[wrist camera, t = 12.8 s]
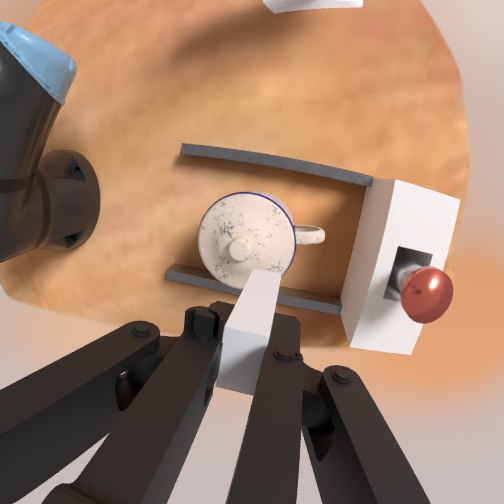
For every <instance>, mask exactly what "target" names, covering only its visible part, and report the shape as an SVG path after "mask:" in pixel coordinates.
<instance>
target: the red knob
mask: <svg viewBox="0 0 504 504" xmlns="http://www.w3.org/2000/svg"><path fill="white" fill-rule="evenodd" d="M389 279H390V280H391V281H392V283H393V284H394V285H395V286H396V287H397V289H398V290H399V291H400V292H401V295H400V300H401V305H402V308H403V310H404V311H405V313H406V314H407V315H408V317H409V318H410V319H411V320H413V321H414V322H417V323H421V324H425V323H430V322H433V321H435V320H437V319H438V318H439V317H441V316H442V315H443V314H444V313H445V311H446V310H447V309H448V307H449V305H450V303H451V300H452V296H453V285H452V282H451V280H450V278H449V277H448V275H447V274H445V273H444V272H443V271H441V270H440V269H438V268H436V267H434V266H425V267H422V266H421V265H420V264H418V263H417V262H416V261H415V260H413V259H412V258H411V257H409V256H407V255H399V256H397V257H395V259H394V263H393V266H392V270H391V273H390V277H389Z"/></svg>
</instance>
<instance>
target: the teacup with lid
mask: <svg viewBox="0 0 504 504" xmlns="http://www.w3.org/2000/svg"><path fill="white" fill-rule="evenodd" d="M324 239H325V231H324V230H323V229H322V228H320V227H316V226H310V225H294V224H293V219H292V215H291V213H290V211H289V209H288V208H287V206H286V205H285V204H284V203H283V201H281V200H280V199H279V198H278V197H276V196H274V195H273V194H270V193H267V192H264V191H249V192H238V193H233V194H230V195H227V196H225V197H223V198H221V199H219V200H218V201H216V202H215V203H214V204H213V205H212V206H211V207H210V208H209V209H208V210H207V212H206V213H205V215H204V216H203V218H202V220H201V223H200V226H199V230H198V249H199V253H200V256H201V259H202V261H203V263H204V265H205V266H206V268H207V269H208V271H209V272H210V273H211V274H212V275H213V276H214V277H215V278H216V279H218V280H219V281H220V282H222V283H224V284H226V285H228V286H230V287H233V288H237V289H244V287H245V285H246V283H247V281H248V279H249V277H250V275H251V273H252V271H253V269H259V270H264V271H268V272H273V273H278V274H282V275H283V274H284V273H285V272H286V271H287V270H288V268H289V266H290V265H291V263H292V261H293V258H294V254H295V250H296V245H312V244H318V243H321V242H323V241H324ZM282 275H281V277H282Z"/></svg>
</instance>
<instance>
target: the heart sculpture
mask: <svg viewBox="0 0 504 504" xmlns="http://www.w3.org/2000/svg"><path fill="white" fill-rule="evenodd" d="M263 3H264V4H265V5H266V6H267V7H268V8H269V9H270V10H271V11H272V12H273V13H275V14H276V13H283V12H291V11H299V10H309V9H322V8H343V7H362V4H363V0H263Z"/></svg>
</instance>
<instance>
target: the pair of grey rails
mask: <svg viewBox="0 0 504 504" xmlns="http://www.w3.org/2000/svg"><path fill="white" fill-rule="evenodd" d="M180 154H186V155H194V156H203V157H211V158H218V159H226V160H233V161H239V162H246V163H252V164H259V165H265V166H271V167H276V168H282V169H287V170H293V171H298V172H303V173H308V174H313V175H318V176H322V177H327V178H332V179H336V180H341V181H345V182H349V183H354V184H358V185H362V186H366V187H372V183H373V178H374V177H373V176H369V175H365V174H361V173H357V172H353V171H349V170H344V169H340V168H336V167H331V166H326V165H322V164H317V163H312V162H307V161H302V160H297V159H292V158H286V157H281V156H275V155H269V154H263V153H256V152H250V151H243V150H236V149H229V148H221V147H213V146H204V145H195V144H184V143H182V146H181V153H180ZM166 279H170V280H174V281H178V282H183V283H187V284H191V285H195V286H199V287H204V288H208V289H213V290H217V291H221V292H226V293H230V294H235V295H241V293H242V291H243V289H237V288H233V287H230V286H228V285H226V284H224V283H222V282H220V281H219V280H218V279H216V278H215V277H214V276H213V275H212V274H211V273H210V272H209V271H204V270H200V269H195V268H191V267H186V266H182V265H178V264H174V265H172V266H171V267H170V268H168V269H167V278H166ZM276 303H278V304H283V305H288V306H293V307H298V308H304V309H309V310H314V311H320V312H325V313H331V314H336V315H340V312H341V309H342V303H341V300H340V298H338V297H332V296H327V295H322V294H317V293H311V292H306V291H301V290H296V289H291V288H286V287H281V286H279V291H278V296H277V302H276Z"/></svg>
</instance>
